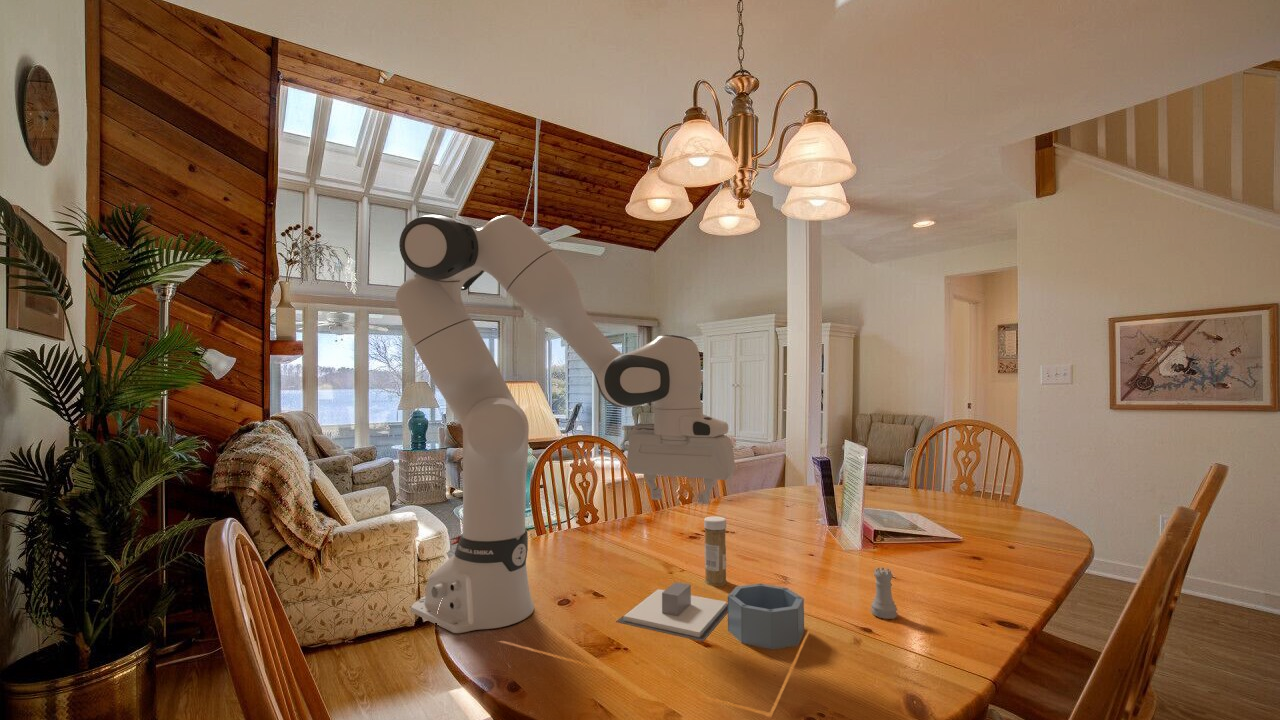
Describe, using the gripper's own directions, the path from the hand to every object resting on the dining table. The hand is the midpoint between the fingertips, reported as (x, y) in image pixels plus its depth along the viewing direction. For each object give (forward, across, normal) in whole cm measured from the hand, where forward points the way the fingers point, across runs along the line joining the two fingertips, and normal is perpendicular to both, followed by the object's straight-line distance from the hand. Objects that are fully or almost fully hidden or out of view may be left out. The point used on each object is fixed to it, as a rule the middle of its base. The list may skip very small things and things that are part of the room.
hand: (679, 501), depth 99 cm
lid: (+20, -1, -1) cm, 20 cm away
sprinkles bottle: (+20, 0, +18) cm, 27 cm away
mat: (+20, -1, -1) cm, 20 cm away
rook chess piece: (+21, +32, +17) cm, 42 cm away
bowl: (+20, +15, 0) cm, 26 cm away
